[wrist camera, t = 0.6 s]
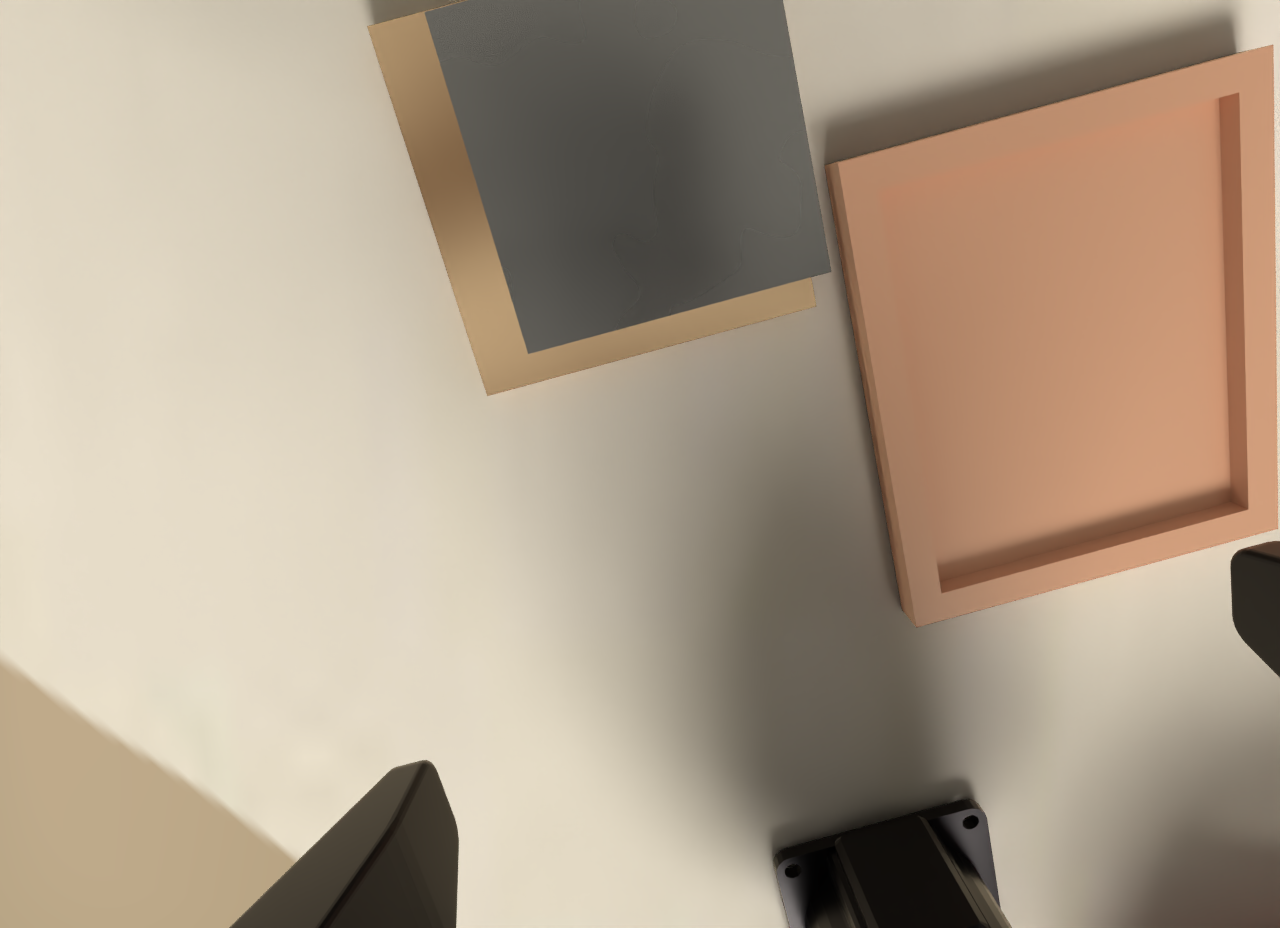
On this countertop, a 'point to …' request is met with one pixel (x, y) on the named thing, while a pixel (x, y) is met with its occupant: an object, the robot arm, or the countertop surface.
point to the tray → (1069, 334)
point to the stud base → (473, 248)
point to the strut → (632, 154)
